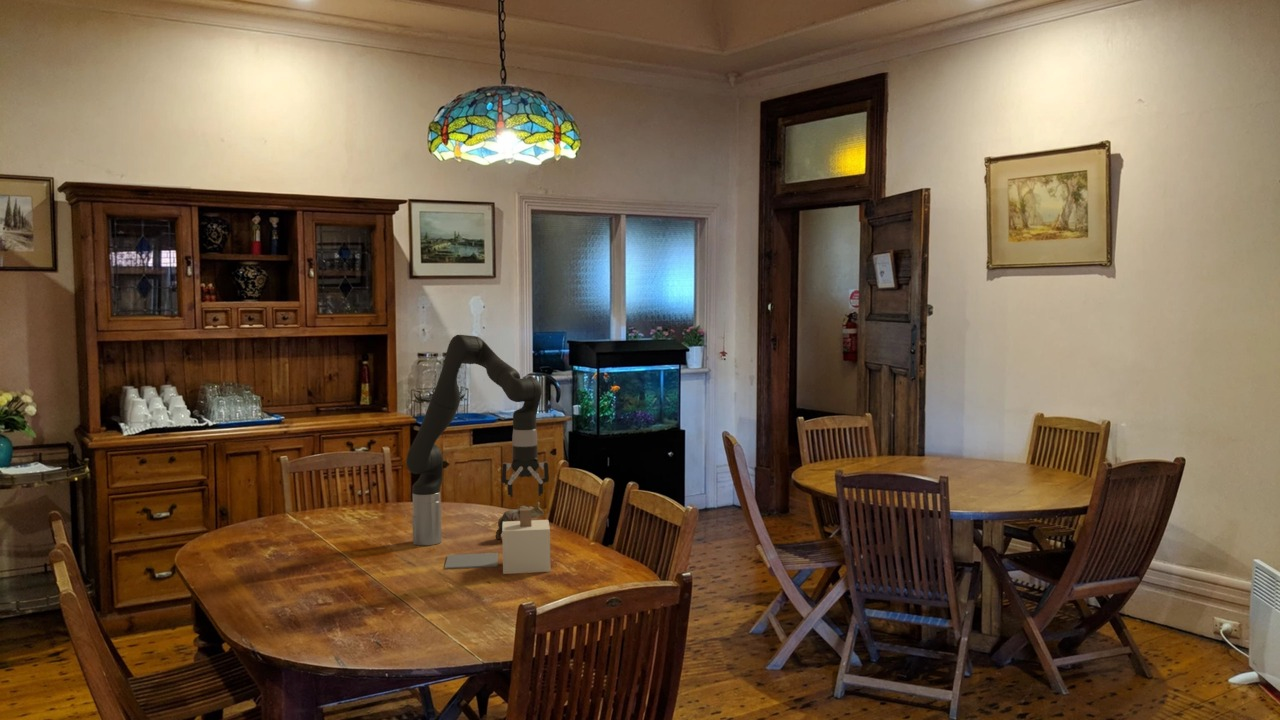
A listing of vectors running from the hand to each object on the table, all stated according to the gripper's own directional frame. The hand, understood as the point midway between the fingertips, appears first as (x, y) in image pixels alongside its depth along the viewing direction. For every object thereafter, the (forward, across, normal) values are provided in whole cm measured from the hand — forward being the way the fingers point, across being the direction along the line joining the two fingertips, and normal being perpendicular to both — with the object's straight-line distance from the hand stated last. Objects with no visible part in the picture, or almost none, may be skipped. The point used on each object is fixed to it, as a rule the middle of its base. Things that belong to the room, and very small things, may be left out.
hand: (525, 496), depth 290 cm
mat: (+22, -17, +9) cm, 29 cm away
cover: (+22, 0, 0) cm, 22 cm away
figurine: (+23, -2, +35) cm, 42 cm away
